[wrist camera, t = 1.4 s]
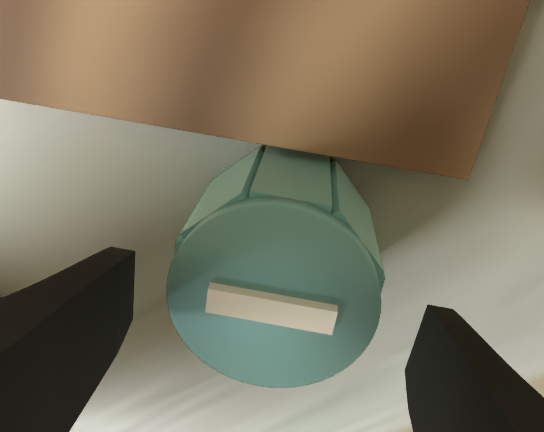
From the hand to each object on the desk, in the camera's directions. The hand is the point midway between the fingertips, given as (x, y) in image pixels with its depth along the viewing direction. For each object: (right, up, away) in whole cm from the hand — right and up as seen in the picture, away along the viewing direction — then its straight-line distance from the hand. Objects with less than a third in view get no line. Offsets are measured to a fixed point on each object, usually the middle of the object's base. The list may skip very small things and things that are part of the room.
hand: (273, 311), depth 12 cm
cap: (0, +2, +4) cm, 5 cm away
